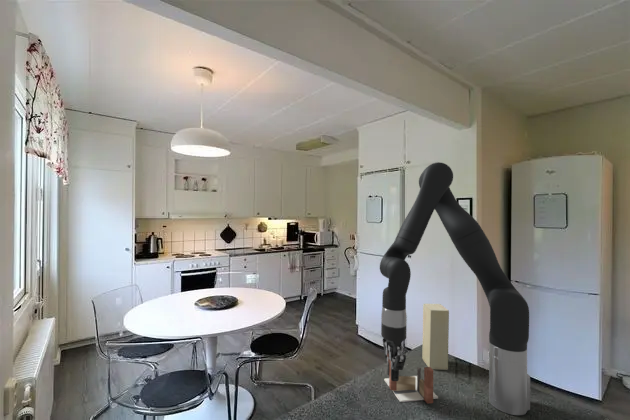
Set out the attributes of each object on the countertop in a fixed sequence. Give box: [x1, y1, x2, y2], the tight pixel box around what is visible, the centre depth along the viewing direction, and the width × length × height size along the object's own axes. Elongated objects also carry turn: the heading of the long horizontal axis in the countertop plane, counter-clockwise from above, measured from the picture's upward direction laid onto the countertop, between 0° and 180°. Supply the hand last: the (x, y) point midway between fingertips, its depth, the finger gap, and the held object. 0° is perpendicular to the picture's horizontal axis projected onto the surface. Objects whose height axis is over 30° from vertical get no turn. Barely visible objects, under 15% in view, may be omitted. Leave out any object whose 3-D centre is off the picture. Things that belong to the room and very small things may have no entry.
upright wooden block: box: [421, 303, 450, 371], centre depth 110 cm, size 8×7×21 cm
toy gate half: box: [388, 359, 416, 391], centre depth 93 cm, size 8×2×9 cm, turn 89°
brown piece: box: [416, 366, 434, 405], centre depth 90 cm, size 2×7×10 cm, turn 10°
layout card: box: [383, 375, 439, 403], centre depth 94 cm, size 12×12×1 cm
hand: (393, 377), depth 93 cm, fingers closed on toy gate half, 2 cm apart
